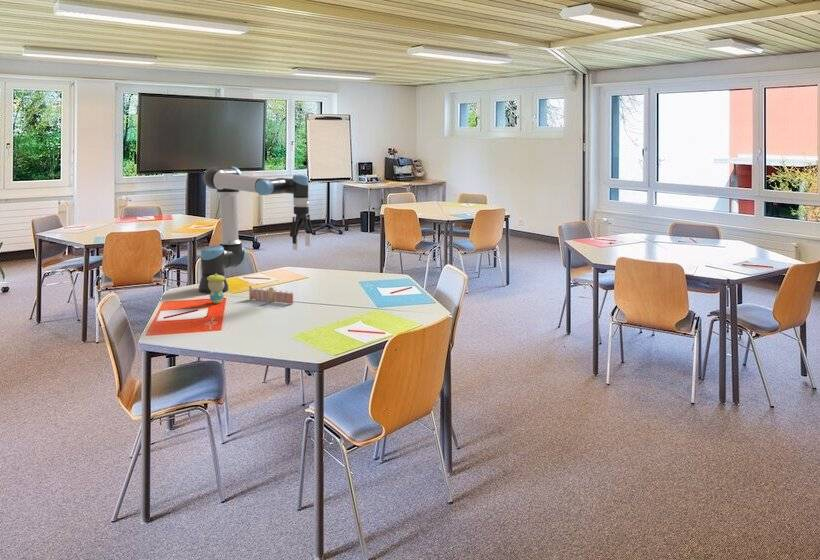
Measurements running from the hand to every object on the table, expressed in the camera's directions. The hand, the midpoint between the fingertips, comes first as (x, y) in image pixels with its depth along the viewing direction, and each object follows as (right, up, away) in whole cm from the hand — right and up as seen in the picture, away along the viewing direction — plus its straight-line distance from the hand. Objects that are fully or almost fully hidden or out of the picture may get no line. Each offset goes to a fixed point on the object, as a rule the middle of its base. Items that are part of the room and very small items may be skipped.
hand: (301, 248), depth 337 cm
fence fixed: (-19, -27, -5) cm, 33 cm away
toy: (-40, -28, -11) cm, 50 cm away
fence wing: (-7, -27, -9) cm, 30 cm away
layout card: (-15, -28, -10) cm, 33 cm away
